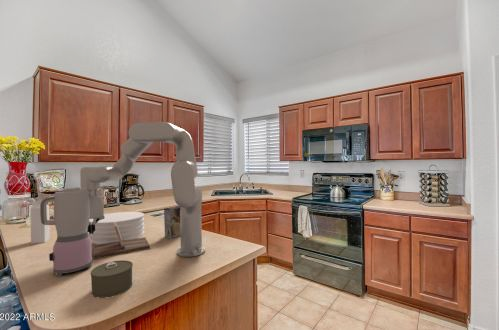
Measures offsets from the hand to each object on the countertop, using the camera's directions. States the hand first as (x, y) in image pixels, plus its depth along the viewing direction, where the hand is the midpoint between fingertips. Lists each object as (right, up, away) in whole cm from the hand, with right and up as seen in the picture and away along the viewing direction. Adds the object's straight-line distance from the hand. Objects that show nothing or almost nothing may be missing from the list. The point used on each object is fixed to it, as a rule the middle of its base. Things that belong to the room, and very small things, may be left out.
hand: (91, 233), depth 109 cm
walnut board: (+11, -9, +6) cm, 16 cm away
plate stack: (-3, -10, +27) cm, 29 cm away
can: (+28, -10, -31) cm, 43 cm away
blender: (+3, -10, -17) cm, 20 cm away
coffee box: (+30, -9, +27) cm, 41 cm away
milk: (-41, -10, +19) cm, 46 cm away
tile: (+9, -2, +6) cm, 11 cm away
